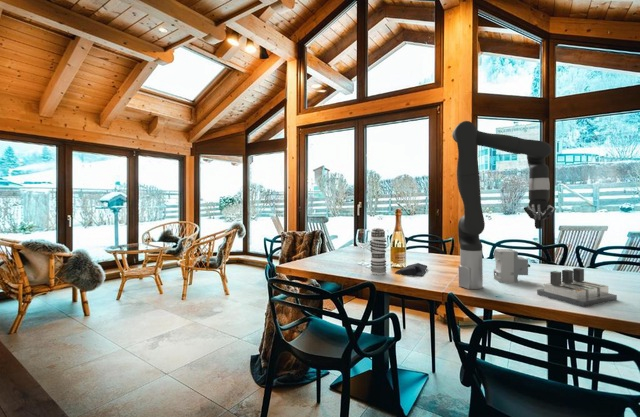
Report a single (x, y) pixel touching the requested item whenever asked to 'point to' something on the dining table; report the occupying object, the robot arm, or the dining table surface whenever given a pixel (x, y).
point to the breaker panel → (577, 290)
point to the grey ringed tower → (378, 251)
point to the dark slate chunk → (413, 270)
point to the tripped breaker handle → (555, 278)
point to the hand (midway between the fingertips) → (539, 228)
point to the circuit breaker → (509, 265)
